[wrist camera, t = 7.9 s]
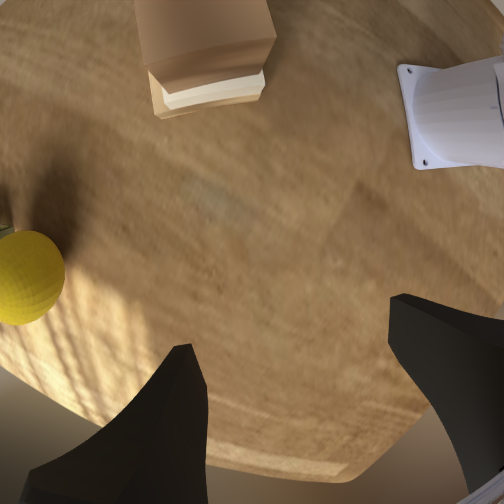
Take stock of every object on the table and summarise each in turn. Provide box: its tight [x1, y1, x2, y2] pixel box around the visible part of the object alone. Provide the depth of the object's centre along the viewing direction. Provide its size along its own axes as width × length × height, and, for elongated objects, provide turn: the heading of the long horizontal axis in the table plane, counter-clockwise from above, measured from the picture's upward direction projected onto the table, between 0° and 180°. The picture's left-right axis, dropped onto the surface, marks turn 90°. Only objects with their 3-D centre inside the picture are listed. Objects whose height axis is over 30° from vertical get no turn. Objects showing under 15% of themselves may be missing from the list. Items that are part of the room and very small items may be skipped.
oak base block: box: [148, 71, 261, 119], centre depth 15 cm, size 6×6×2 cm
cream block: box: [162, 70, 265, 110], centre depth 13 cm, size 5×5×2 cm
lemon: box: [0, 230, 65, 325], centre depth 14 cm, size 6×6×8 cm
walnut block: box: [134, 0, 277, 94], centre depth 10 cm, size 4×4×5 cm
